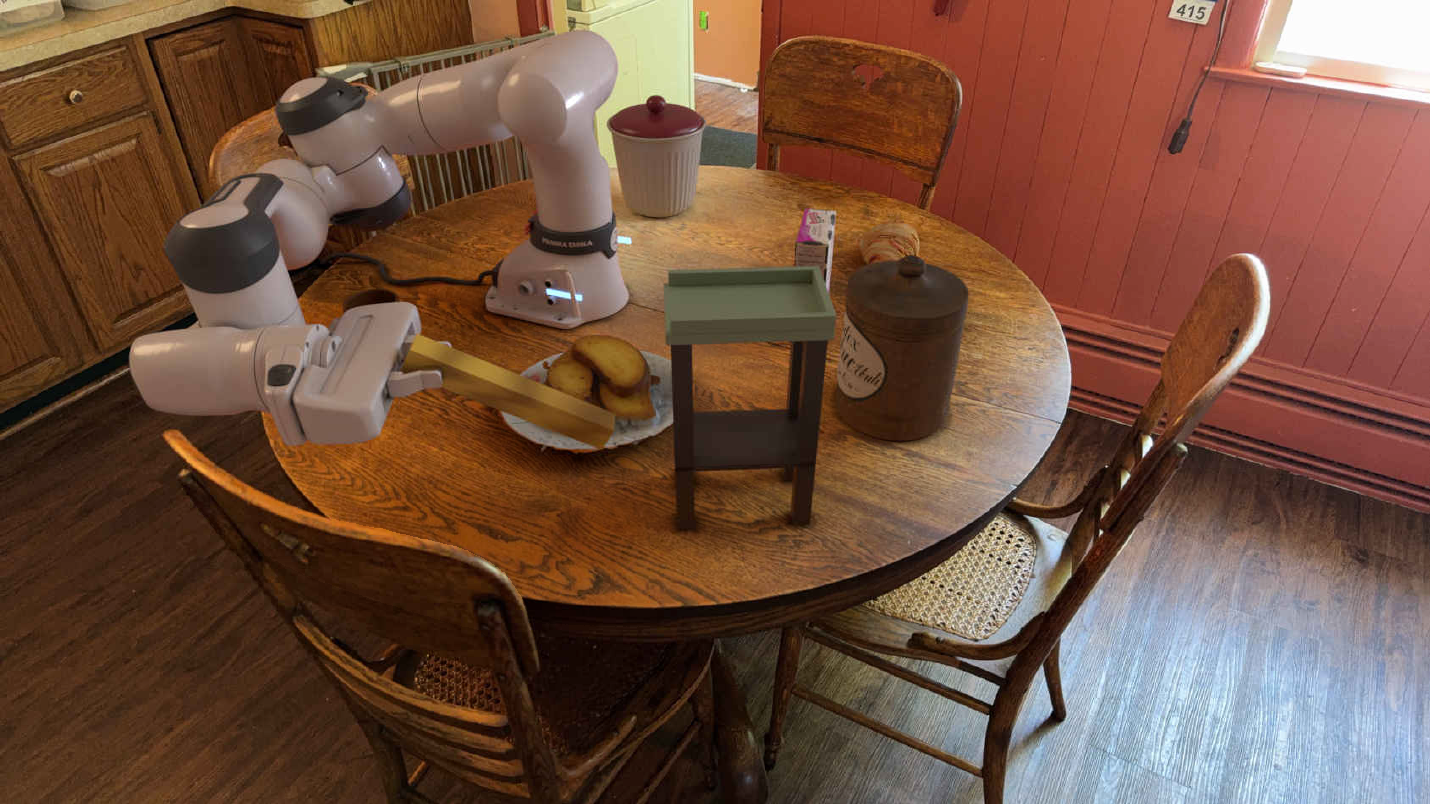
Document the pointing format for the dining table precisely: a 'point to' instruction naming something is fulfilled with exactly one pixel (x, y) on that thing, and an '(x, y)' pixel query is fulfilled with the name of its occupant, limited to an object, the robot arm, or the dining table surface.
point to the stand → (749, 314)
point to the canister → (657, 155)
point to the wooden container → (899, 348)
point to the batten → (512, 393)
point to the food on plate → (605, 390)
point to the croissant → (889, 242)
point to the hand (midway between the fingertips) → (446, 364)
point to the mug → (370, 298)
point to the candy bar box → (816, 241)
